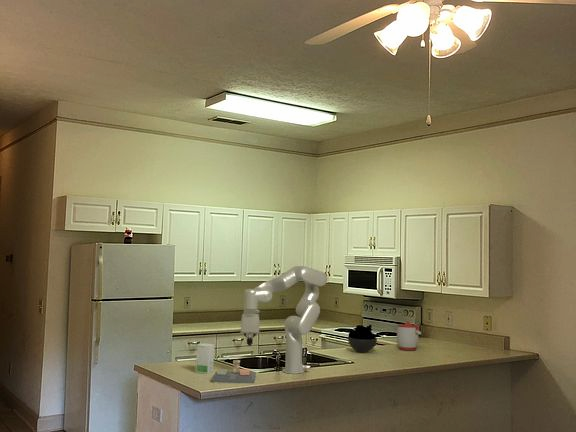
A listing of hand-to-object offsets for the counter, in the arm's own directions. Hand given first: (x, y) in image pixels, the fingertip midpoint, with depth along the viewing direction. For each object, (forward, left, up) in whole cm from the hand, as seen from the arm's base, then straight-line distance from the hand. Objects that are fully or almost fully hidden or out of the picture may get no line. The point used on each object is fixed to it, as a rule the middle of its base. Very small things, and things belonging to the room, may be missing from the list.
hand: (249, 345), depth 335 cm
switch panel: (+7, +6, -17) cm, 19 cm away
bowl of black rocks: (-73, -86, -17) cm, 114 cm away
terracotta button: (+1, +11, -13) cm, 18 cm away
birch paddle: (+7, 0, -15) cm, 16 cm away
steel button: (+13, +11, -13) cm, 22 cm away
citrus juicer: (-108, -101, -17) cm, 149 cm away
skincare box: (+25, -10, -17) cm, 32 cm away
